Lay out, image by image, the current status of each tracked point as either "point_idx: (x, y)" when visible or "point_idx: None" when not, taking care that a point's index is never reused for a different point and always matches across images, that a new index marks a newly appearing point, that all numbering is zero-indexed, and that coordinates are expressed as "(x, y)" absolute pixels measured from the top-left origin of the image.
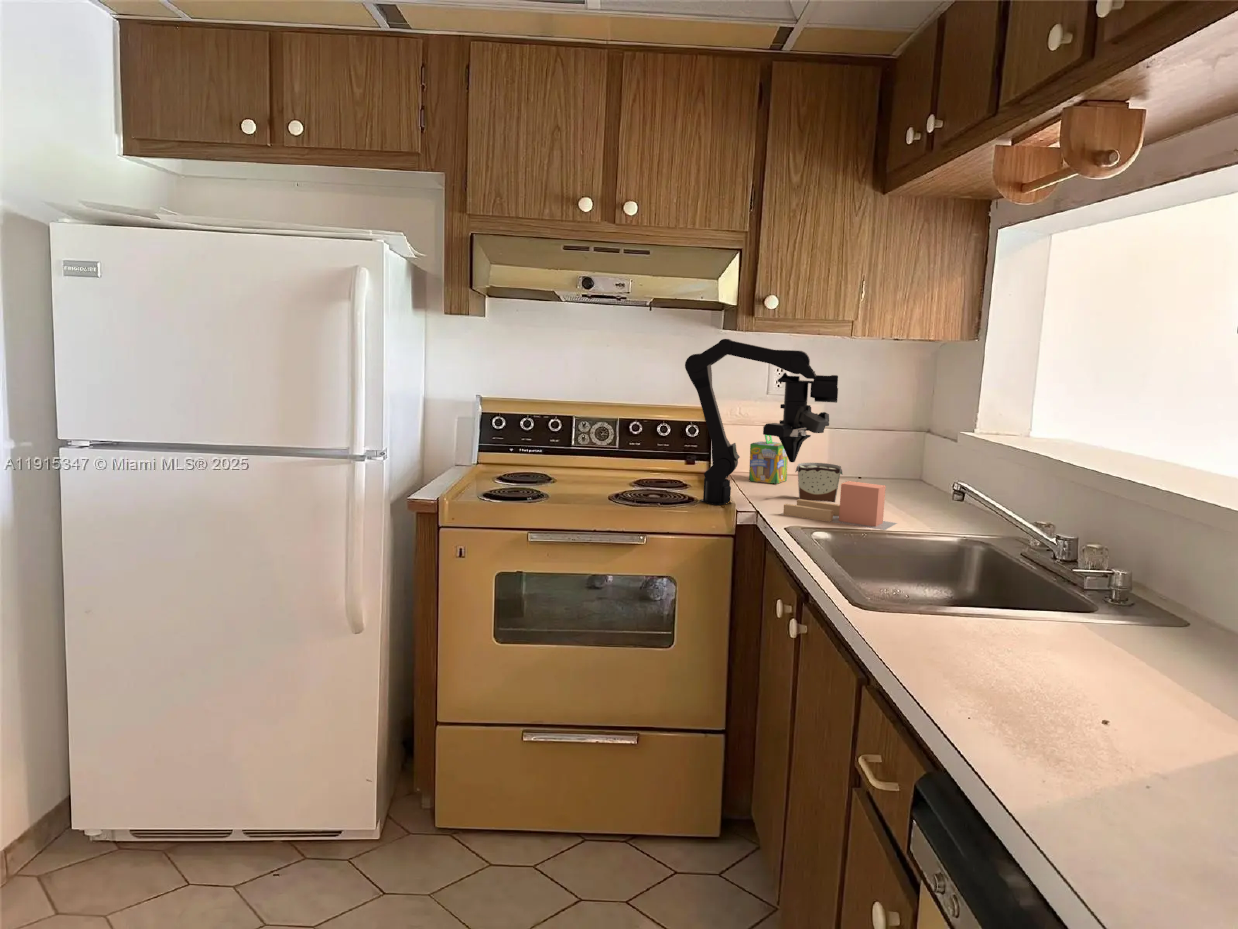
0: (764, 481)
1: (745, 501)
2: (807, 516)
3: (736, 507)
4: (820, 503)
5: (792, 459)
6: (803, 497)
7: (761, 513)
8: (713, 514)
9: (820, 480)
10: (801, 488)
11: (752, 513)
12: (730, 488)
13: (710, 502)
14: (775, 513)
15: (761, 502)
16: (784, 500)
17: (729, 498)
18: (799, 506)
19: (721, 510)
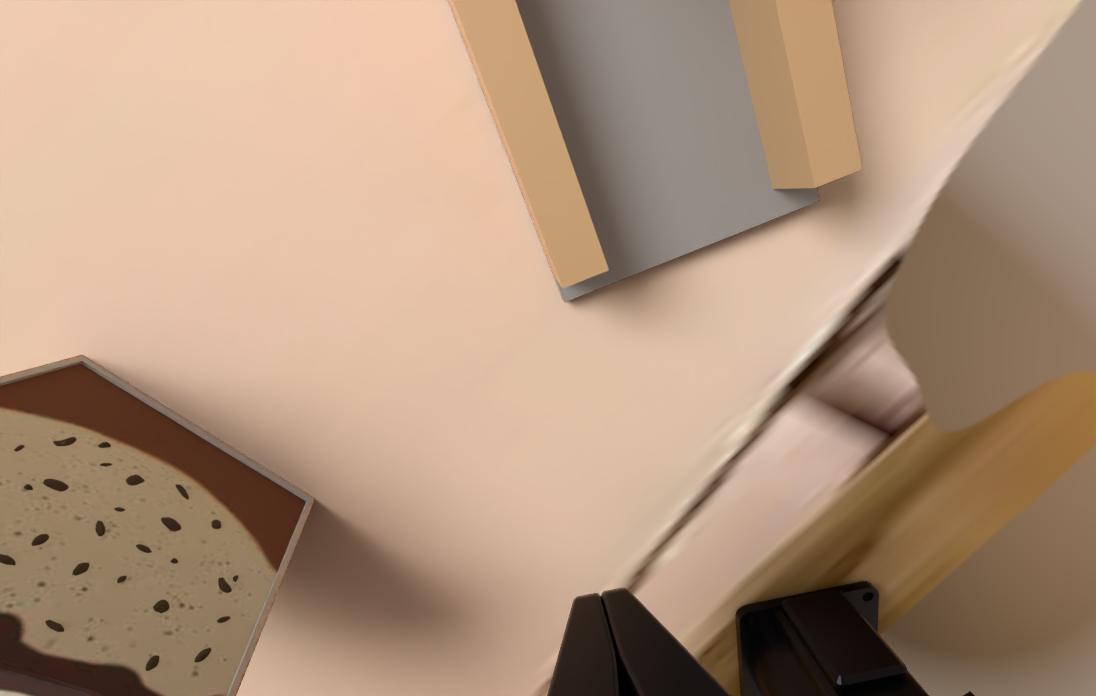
0: None
1: None
2: None
3: (805, 518)
4: (532, 55)
5: (650, 620)
6: (277, 504)
7: (823, 329)
8: (1064, 425)
9: (56, 525)
10: (265, 558)
11: (868, 353)
12: (836, 667)
13: (876, 627)
14: (748, 290)
15: (561, 573)
16: (375, 570)
17: (804, 613)
18: (822, 36)
19: (941, 488)
